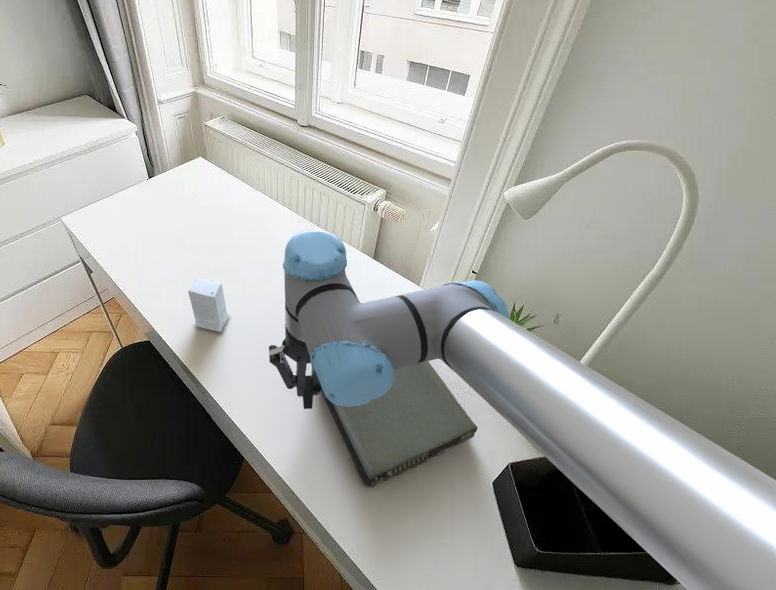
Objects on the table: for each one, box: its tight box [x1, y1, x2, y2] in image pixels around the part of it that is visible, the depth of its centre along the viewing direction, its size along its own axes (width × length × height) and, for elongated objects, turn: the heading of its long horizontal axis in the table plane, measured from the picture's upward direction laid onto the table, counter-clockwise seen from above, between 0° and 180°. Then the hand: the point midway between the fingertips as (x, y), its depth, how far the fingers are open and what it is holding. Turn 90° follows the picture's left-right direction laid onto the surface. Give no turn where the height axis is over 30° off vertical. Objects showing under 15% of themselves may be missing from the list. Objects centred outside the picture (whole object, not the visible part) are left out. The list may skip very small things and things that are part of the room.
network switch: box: [320, 361, 478, 488], centre depth 74 cm, size 23×24×5 cm
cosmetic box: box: [187, 277, 229, 333], centre depth 88 cm, size 6×4×12 cm
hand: (307, 401), depth 73 cm, fingers closed
